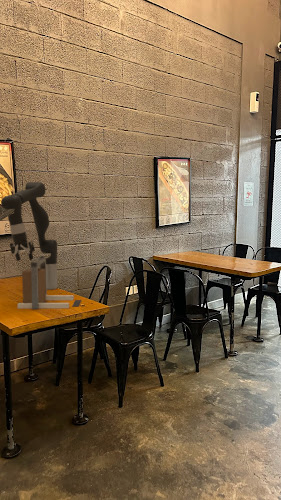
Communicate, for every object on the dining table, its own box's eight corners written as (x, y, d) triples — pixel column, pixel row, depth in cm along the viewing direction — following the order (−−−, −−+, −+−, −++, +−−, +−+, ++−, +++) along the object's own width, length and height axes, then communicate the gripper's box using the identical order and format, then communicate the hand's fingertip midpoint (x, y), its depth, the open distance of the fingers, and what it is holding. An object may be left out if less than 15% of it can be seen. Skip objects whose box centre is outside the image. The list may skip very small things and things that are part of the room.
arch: (41, 298, 235) (40, 256, 232) (46, 298, 236) (45, 256, 232) (32, 309, 212) (30, 262, 209) (37, 309, 212) (36, 262, 209)
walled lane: (27, 299, 233) (26, 295, 233) (73, 299, 234) (73, 295, 234) (17, 308, 213) (17, 304, 213) (68, 308, 214) (68, 303, 214)
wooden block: (38, 306, 218) (37, 271, 215) (22, 305, 220) (21, 270, 217) (46, 302, 227) (45, 268, 225) (30, 301, 229) (29, 267, 227)
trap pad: (75, 300, 231) (75, 300, 231) (81, 300, 231) (81, 300, 231) (72, 306, 217) (72, 306, 217) (78, 306, 217) (78, 306, 217)
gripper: (33, 229, 213) (39, 257, 217) (12, 231, 218) (18, 258, 222) (24, 232, 206) (31, 261, 210) (3, 234, 211) (10, 262, 215)
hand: (25, 260), depth 216 cm, fingers open, 8 cm apart
